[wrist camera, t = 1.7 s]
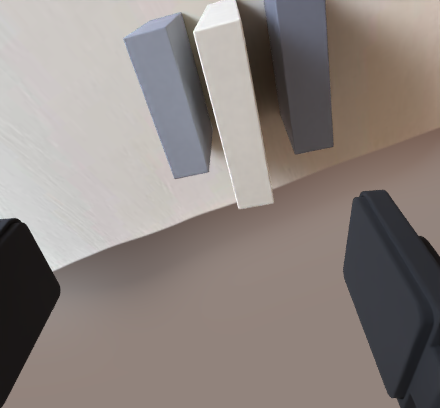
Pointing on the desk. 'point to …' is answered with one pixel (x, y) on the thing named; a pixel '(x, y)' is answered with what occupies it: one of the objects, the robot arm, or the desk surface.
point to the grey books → (193, 95)
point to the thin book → (234, 101)
